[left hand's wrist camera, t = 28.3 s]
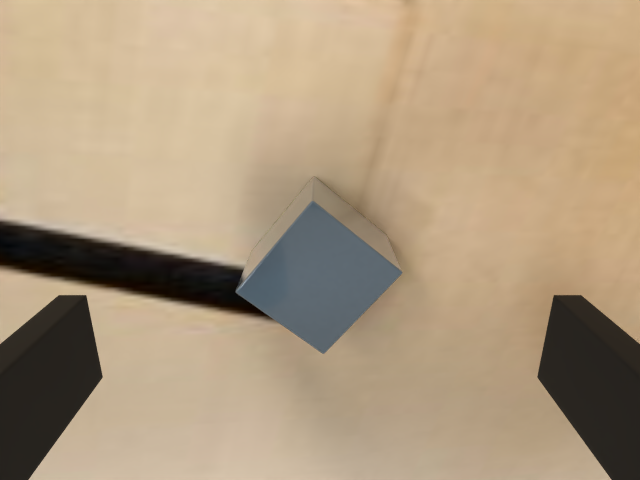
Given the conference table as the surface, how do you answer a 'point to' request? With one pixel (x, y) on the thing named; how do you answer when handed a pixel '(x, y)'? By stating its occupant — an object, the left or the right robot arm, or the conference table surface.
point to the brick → (319, 267)
